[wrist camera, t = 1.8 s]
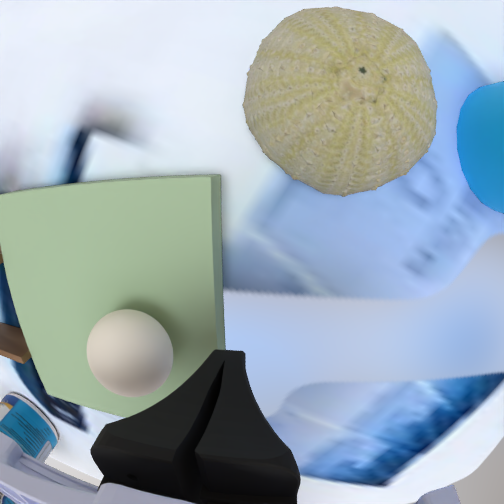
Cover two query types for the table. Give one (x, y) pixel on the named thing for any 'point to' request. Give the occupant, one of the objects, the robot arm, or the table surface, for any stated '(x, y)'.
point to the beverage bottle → (26, 429)
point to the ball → (129, 353)
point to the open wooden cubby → (13, 340)
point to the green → (115, 274)
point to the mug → (483, 144)
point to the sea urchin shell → (340, 100)
